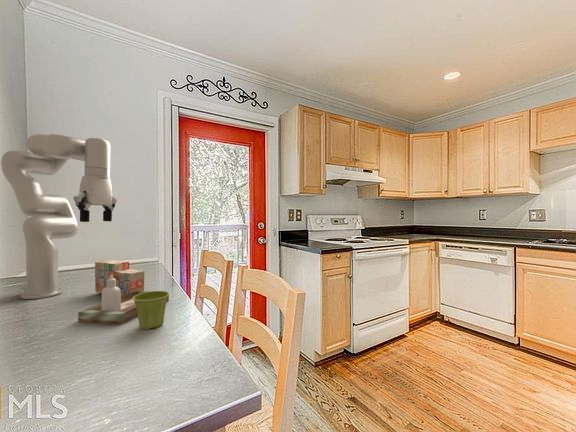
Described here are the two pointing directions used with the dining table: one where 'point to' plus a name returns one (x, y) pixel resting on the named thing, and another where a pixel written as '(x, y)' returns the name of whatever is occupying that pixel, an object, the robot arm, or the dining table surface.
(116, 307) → the eye dropper bottle
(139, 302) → the plant pot
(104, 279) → the stack of blocks
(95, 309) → the divided wooden tray
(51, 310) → the dining table surface
